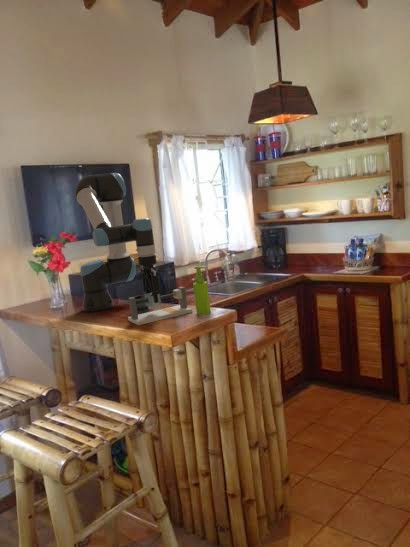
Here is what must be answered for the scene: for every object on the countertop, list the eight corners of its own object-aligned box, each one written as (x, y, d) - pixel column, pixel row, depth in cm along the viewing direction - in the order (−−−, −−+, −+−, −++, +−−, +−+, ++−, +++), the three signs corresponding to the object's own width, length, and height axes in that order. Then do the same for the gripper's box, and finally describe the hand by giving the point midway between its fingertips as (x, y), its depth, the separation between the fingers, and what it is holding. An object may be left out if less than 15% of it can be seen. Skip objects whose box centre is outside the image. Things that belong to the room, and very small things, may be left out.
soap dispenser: (210, 314, 208) (204, 267, 205) (194, 315, 211) (189, 268, 208) (214, 310, 214) (209, 264, 211) (199, 311, 216) (194, 265, 213)
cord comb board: (128, 320, 216) (124, 296, 214) (180, 308, 227) (177, 285, 225) (138, 325, 205) (134, 300, 203) (192, 312, 216) (189, 288, 214)
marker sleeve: (146, 305, 215) (144, 294, 214) (156, 303, 217) (155, 291, 216) (150, 307, 211) (148, 295, 210) (161, 304, 213) (159, 293, 212)
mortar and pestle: (139, 315, 222) (135, 289, 220) (127, 313, 229) (124, 287, 227) (159, 309, 229) (156, 283, 227) (148, 307, 236) (144, 282, 235)
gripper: (131, 255, 217) (138, 307, 221) (146, 258, 201) (153, 314, 205) (147, 252, 220) (154, 304, 224) (163, 255, 204) (170, 310, 208)
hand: (154, 309), depth 214 cm, fingers closed on marker sleeve, 5 cm apart
